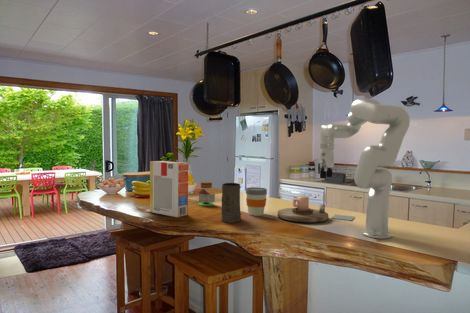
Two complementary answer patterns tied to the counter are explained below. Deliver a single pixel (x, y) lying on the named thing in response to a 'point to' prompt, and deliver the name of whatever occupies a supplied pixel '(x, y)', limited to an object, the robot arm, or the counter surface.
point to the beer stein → (231, 203)
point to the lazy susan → (304, 214)
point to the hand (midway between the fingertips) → (326, 177)
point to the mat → (343, 217)
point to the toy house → (206, 195)
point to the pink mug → (301, 203)
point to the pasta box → (169, 188)
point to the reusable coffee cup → (256, 200)
